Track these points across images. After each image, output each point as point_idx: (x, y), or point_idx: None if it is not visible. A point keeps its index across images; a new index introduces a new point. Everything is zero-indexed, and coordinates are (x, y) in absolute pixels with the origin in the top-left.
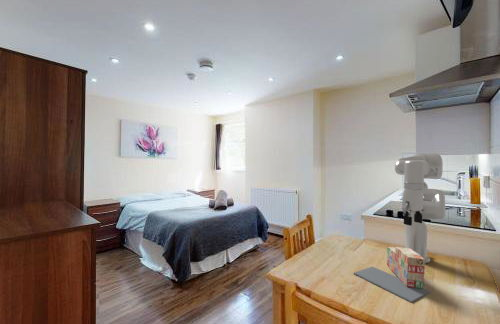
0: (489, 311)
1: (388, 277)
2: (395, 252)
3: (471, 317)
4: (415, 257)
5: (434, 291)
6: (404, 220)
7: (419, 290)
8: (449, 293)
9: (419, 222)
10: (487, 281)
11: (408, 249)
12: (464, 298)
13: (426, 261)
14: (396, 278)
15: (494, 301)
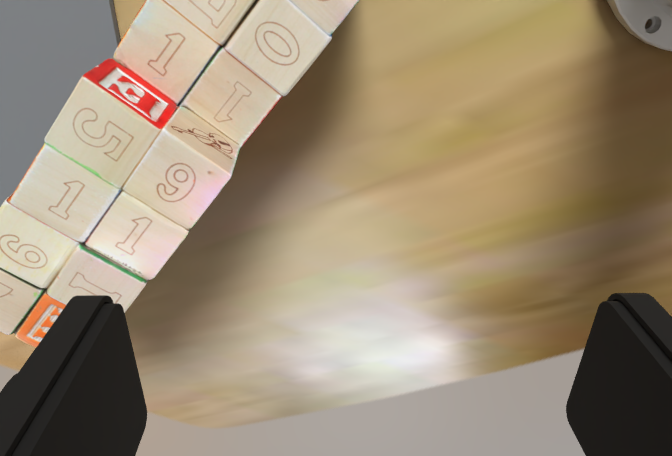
0: (254, 410)
1: (45, 44)
2: (104, 62)
3: None
4: (14, 327)
5: (203, 259)
6: (34, 377)
7: None
8: (260, 299)
9: (573, 396)
10: None
11: (173, 189)
12: (276, 343)
13: (658, 47)
14: None
15: (373, 398)
